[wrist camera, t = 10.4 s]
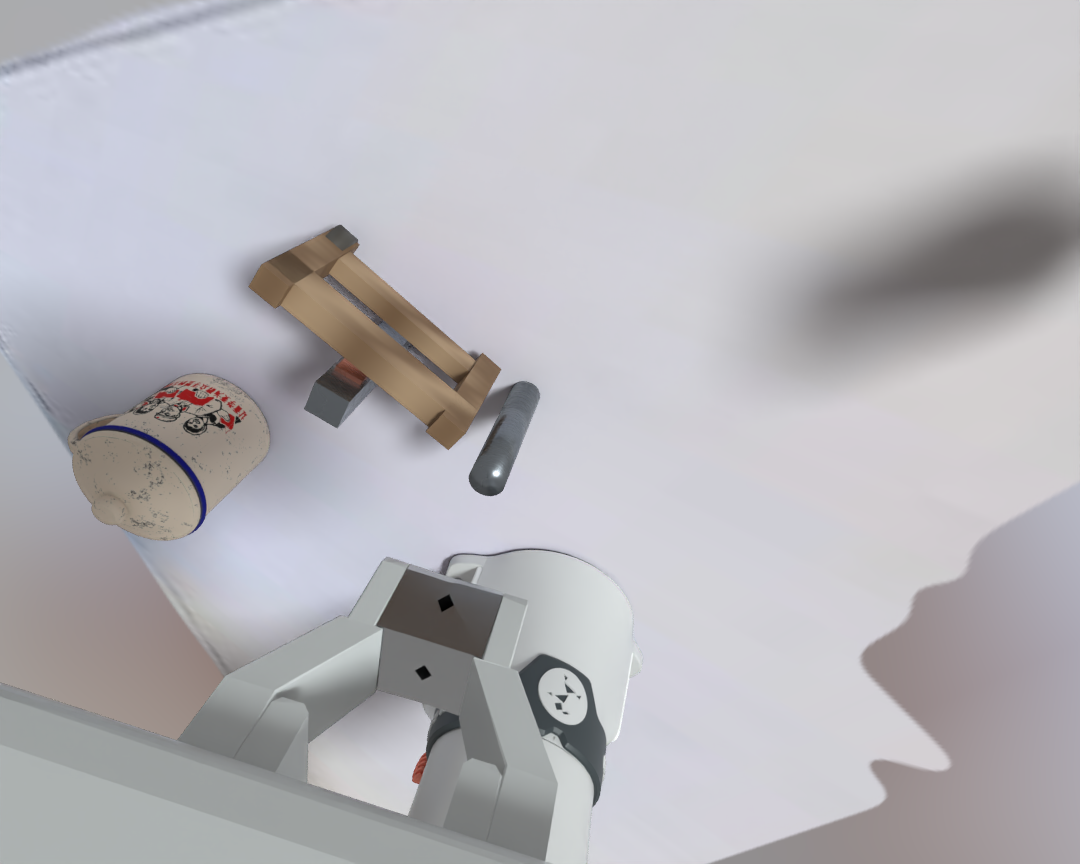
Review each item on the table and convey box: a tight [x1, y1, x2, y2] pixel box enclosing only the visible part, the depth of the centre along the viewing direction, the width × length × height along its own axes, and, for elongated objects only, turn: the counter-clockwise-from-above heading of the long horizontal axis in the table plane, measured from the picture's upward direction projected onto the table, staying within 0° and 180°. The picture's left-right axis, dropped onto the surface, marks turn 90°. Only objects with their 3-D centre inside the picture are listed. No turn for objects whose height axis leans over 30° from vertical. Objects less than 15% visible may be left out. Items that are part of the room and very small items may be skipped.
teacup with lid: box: [68, 374, 270, 541], centre depth 43 cm, size 12×9×12 cm
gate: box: [249, 225, 501, 450], centre depth 35 cm, size 13×3×8 cm, turn 49°
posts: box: [304, 320, 540, 496], centre depth 37 cm, size 3×11×10 cm, turn 60°
